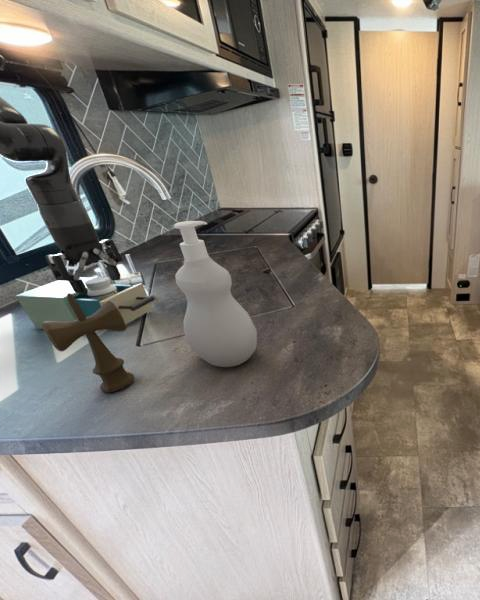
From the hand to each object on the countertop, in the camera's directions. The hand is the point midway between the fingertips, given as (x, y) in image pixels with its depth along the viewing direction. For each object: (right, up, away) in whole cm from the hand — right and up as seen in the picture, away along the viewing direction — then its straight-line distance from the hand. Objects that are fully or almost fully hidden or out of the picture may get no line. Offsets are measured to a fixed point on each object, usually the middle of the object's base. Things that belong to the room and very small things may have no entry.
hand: (100, 286), depth 80 cm
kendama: (+21, -20, -18) cm, 35 cm away
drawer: (+2, -8, +4) cm, 9 cm away
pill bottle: (0, -7, +4) cm, 8 cm away
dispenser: (-11, -9, +6) cm, 15 cm away
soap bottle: (+38, -16, -11) cm, 43 cm away
